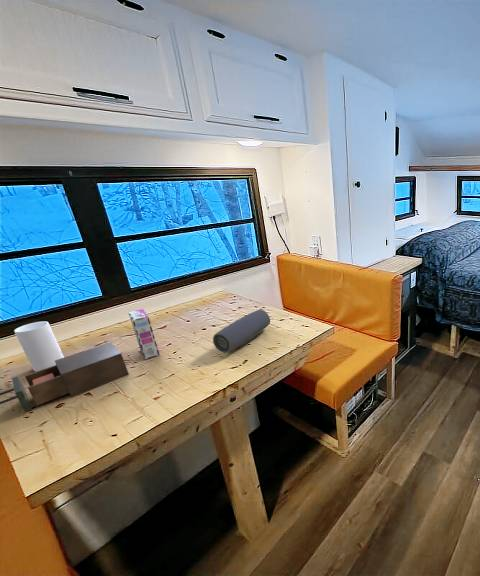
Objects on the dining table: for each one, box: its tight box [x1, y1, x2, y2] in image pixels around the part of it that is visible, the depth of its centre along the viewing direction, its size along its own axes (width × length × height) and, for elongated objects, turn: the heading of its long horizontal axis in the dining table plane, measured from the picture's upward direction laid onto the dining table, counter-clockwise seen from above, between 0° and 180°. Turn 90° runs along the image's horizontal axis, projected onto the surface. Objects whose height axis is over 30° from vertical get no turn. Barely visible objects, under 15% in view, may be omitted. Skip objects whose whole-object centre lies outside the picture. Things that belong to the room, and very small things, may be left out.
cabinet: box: [55, 341, 130, 398], centre depth 103 cm, size 15×13×9 cm
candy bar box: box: [128, 308, 161, 360], centre depth 116 cm, size 11×5×16 cm, turn 45°
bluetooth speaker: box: [212, 309, 271, 354], centre depth 124 cm, size 23×9×10 cm, turn 161°
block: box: [32, 373, 54, 385], centre depth 95 cm, size 4×4×4 cm
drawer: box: [0, 365, 70, 413], centre depth 93 cm, size 21×11×7 cm, turn 142°
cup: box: [13, 320, 65, 372], centre depth 110 cm, size 8×8×16 cm
